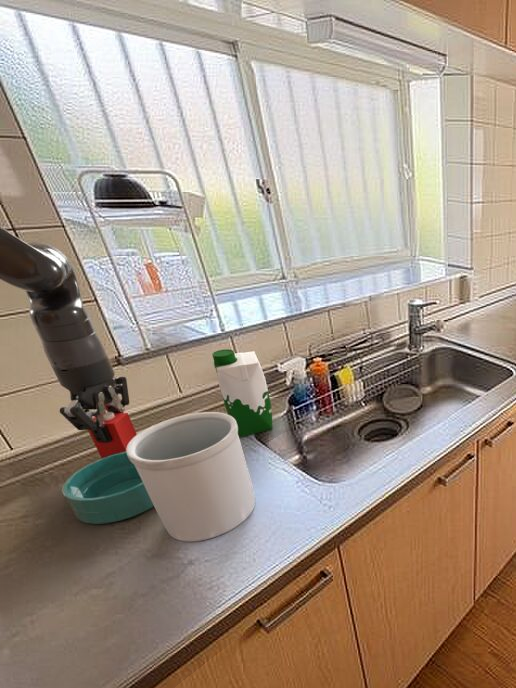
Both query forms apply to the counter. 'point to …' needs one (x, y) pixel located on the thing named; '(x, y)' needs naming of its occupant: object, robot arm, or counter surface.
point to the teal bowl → (107, 491)
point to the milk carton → (244, 391)
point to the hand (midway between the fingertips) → (114, 434)
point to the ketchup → (115, 434)
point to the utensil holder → (195, 474)
